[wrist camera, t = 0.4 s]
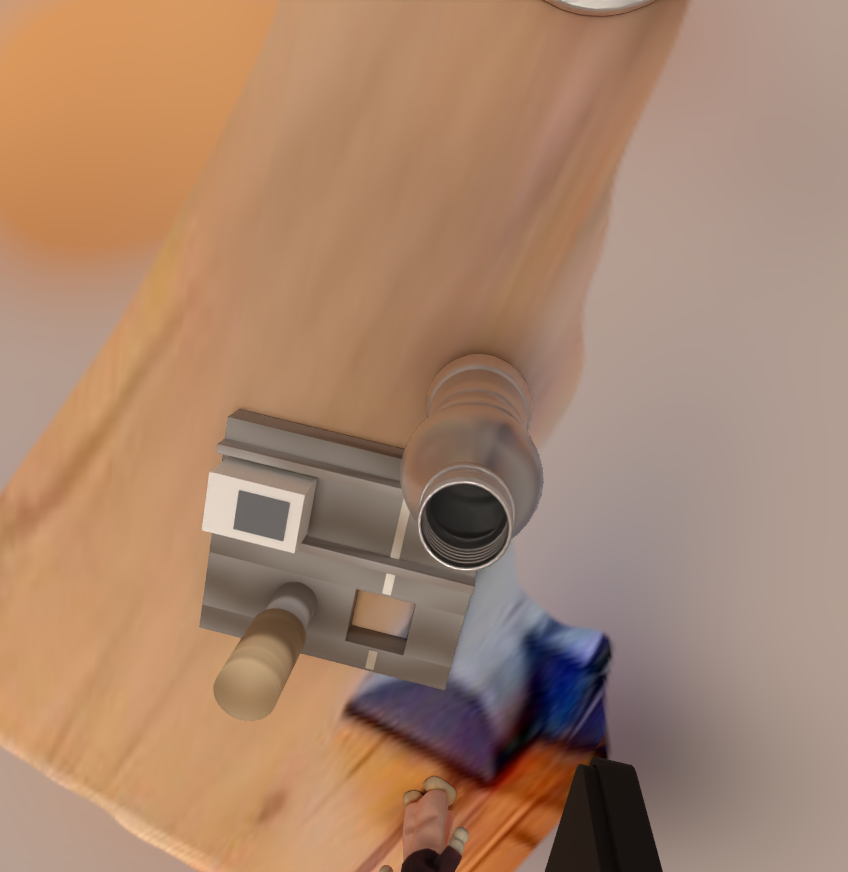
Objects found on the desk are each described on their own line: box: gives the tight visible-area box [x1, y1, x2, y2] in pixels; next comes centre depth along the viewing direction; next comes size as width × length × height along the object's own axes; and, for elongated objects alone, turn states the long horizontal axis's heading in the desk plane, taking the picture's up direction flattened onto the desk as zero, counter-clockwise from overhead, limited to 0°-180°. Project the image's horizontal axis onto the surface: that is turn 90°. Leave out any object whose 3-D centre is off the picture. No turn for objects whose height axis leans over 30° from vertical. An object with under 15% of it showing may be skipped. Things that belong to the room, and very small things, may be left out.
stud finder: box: [202, 456, 317, 553], centre depth 44 cm, size 4×6×3 cm, turn 78°
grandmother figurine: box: [379, 776, 469, 872], centre depth 48 cm, size 8×4×13 cm, turn 141°
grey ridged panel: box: [199, 409, 477, 690], centre depth 47 cm, size 16×18×3 cm
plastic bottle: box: [400, 354, 543, 572], centre depth 35 cm, size 6×7×20 cm
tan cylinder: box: [214, 582, 317, 721], centre depth 43 cm, size 4×4×10 cm
